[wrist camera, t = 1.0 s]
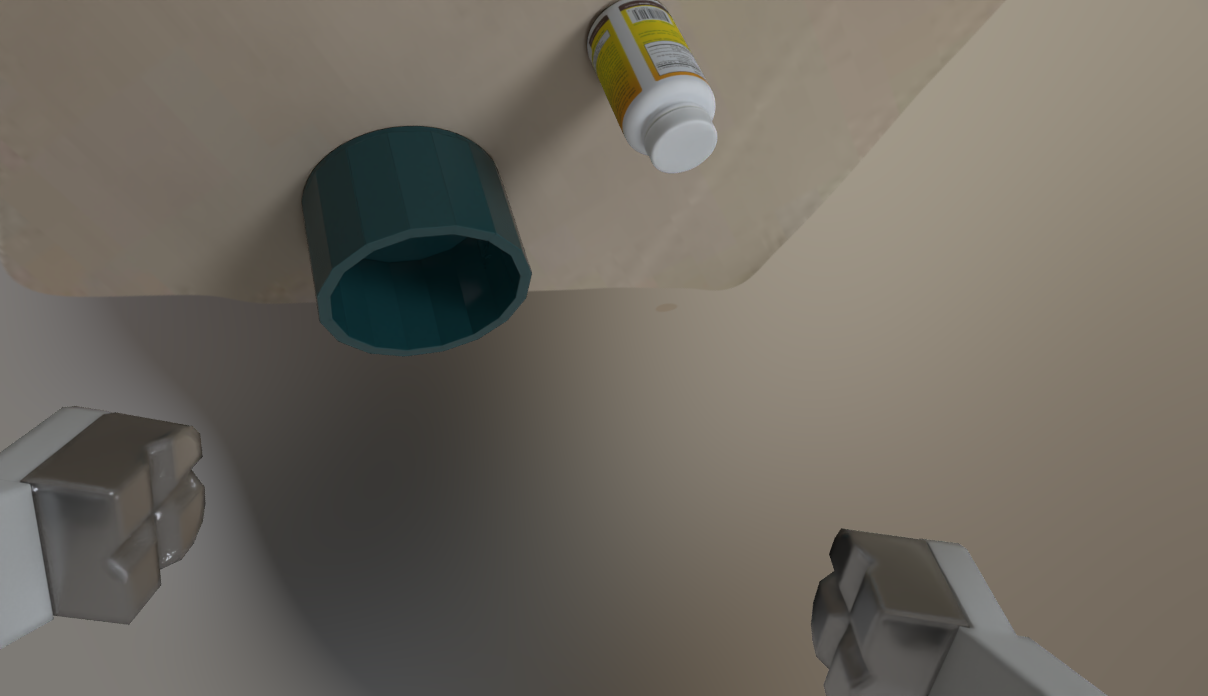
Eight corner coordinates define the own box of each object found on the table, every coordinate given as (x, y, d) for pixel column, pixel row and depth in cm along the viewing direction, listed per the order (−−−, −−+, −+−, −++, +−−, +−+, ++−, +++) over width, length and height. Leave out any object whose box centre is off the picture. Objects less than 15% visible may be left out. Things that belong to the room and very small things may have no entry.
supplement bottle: (603, 83, 53) (654, 198, 48) (570, 22, 48) (623, 142, 43) (680, 41, 52) (740, 154, 47) (655, -26, 47) (719, 92, 42)
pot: (354, 284, 62) (372, 376, 58) (262, 169, 50) (275, 276, 46) (521, 225, 62) (549, 314, 58) (467, 97, 50) (499, 197, 46)
